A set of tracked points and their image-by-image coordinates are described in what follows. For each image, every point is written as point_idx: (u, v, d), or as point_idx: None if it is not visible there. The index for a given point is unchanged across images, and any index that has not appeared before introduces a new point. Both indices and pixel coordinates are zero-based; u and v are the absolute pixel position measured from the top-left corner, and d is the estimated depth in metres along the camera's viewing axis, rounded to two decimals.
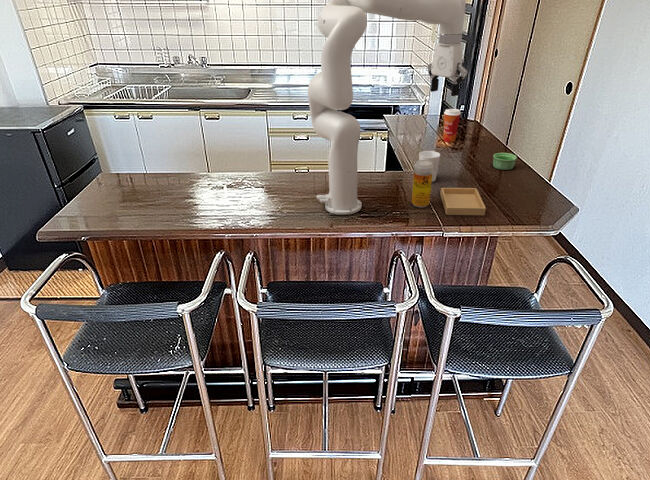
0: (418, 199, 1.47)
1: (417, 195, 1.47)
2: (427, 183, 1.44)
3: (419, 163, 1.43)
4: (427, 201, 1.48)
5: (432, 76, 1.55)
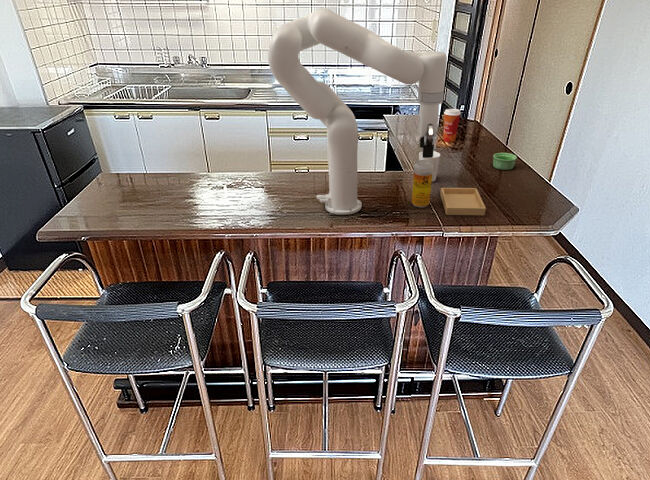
0: (418, 199, 1.47)
1: (417, 195, 1.47)
2: (427, 183, 1.44)
3: (419, 163, 1.43)
4: (427, 201, 1.48)
5: None
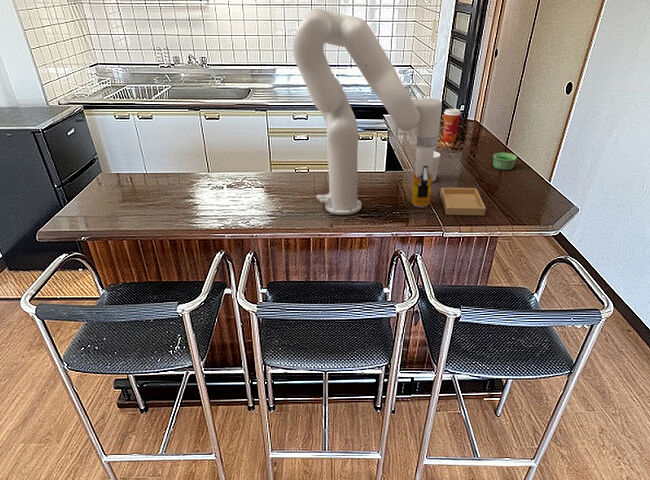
0: (418, 199, 1.47)
1: (417, 195, 1.47)
2: None
3: None
4: (427, 201, 1.48)
5: None
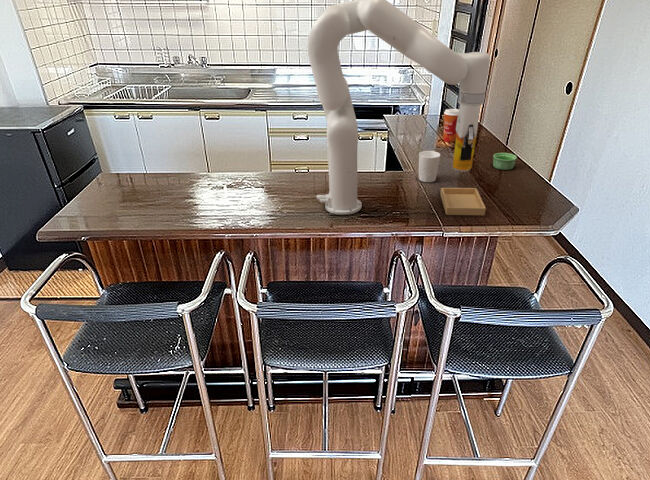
0: (460, 162, 1.40)
1: (459, 158, 1.39)
2: None
3: None
4: (470, 165, 1.40)
5: None
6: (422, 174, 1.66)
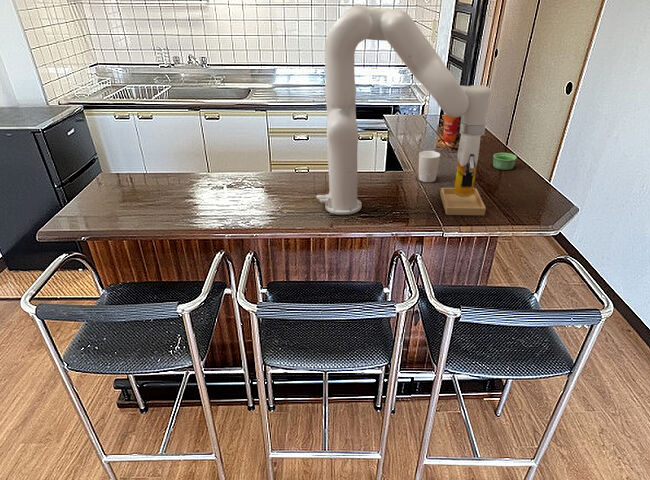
0: (461, 189, 1.44)
1: (461, 185, 1.44)
2: None
3: None
4: (471, 191, 1.45)
5: None
6: (422, 174, 1.66)
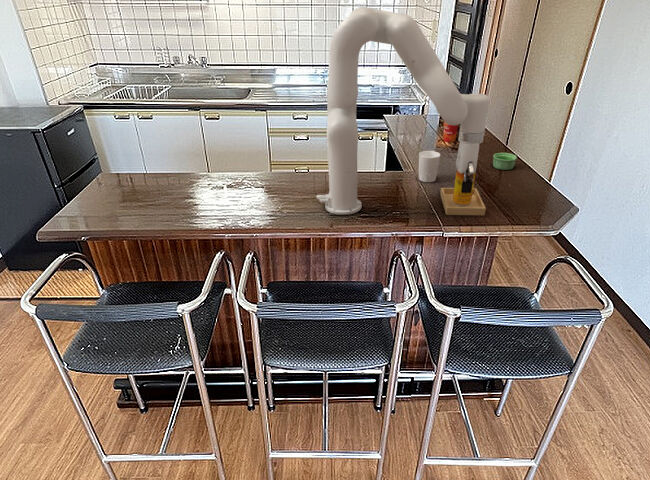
0: (460, 197, 1.46)
1: (459, 193, 1.46)
2: None
3: None
4: (469, 199, 1.47)
5: None
6: (422, 174, 1.66)
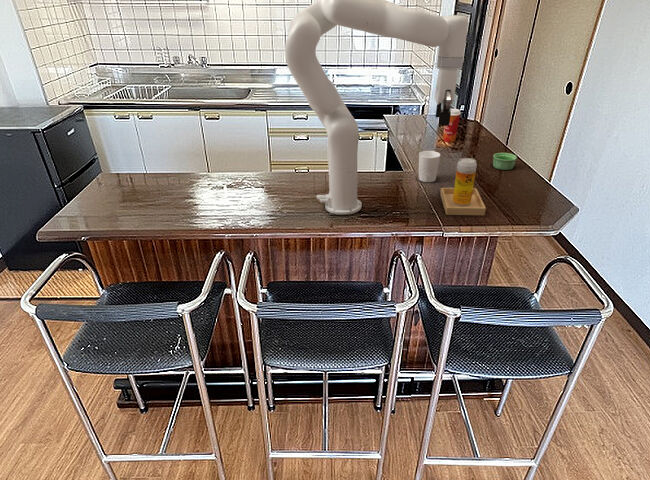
0: (460, 197, 1.46)
1: (459, 193, 1.46)
2: (470, 181, 1.43)
3: (462, 161, 1.42)
4: (469, 199, 1.47)
5: None
6: (422, 174, 1.66)
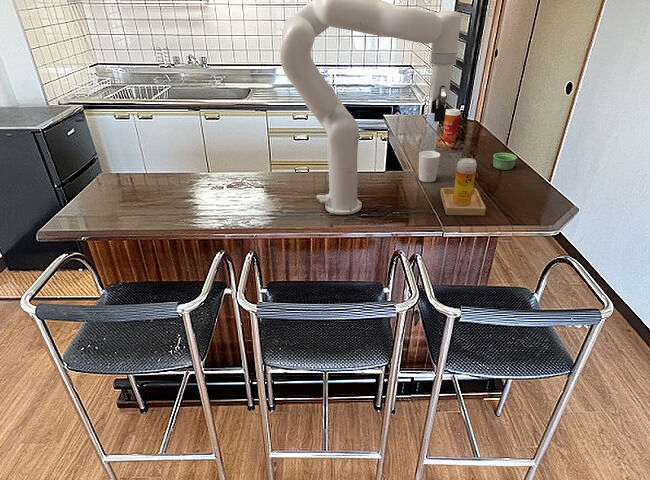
0: (460, 197, 1.46)
1: (459, 193, 1.46)
2: (470, 181, 1.43)
3: (462, 161, 1.42)
4: (469, 199, 1.47)
5: None
6: (422, 174, 1.66)
